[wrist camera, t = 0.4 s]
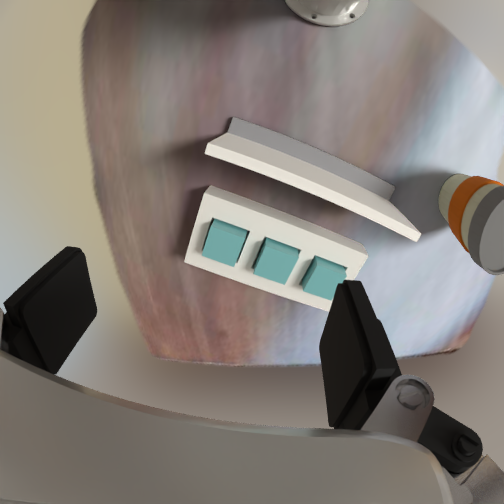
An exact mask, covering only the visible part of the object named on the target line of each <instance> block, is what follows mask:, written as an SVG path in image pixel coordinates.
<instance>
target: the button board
mask: <svg viewBox="0 0 504 504" xmlns="http://www.w3.org/2000/svg"><path fill="white" fill-rule="evenodd" d="M215 218H216V219H218V220H221V221H224V222H227V223H230V224H232V225H235V226H238V227H241V228H243V229H246V230H247V233H246V237H245V240H244V243H243V245H242V248H241V251H240V253H239V256H238V258H237V261H236V263H235V266H234V267H232V266H229V265H226V264H223V263H221V262H218V261H215V260H212V259H209V258H207V257H204V256H202V252H203V249H204V246H205V243H206V240H207V237H208V234H209V230H210V227H211V225H212V223H213V221H214V219H215ZM266 237H268V238H271V239H273V240H276V241H279V242H281V243H284V244H287V245H290V246H292V247H295V248H298V256H299V258H298V260H297V262H296V264H295V266H294V268H293V270H292V272H291V274H290V276H289V278H288V280H287V282H286V284H285V285H283V284H280V283H277V282H275V281H272V280H269V279H266V278H263V277H260V276H257V275H254V274H253V272H254V265H255V261H256V259H257V256H258V254H259V252H260V250H261V247H262V245H263V243H264V240H265V238H266ZM315 255H316V256H319V257H321V258H324V259H327V260H329V261H332V262H335V263H337V264H340V265H342V266H344V269H345V272H346V275H347V277H346V278H345V280H354V279H355V277H356V276H357V274H358V272H359V271H360V269H361V268H362V266H363V264H364V263H365V261H366V259H367V258H368V254H367V252H366V250H365V248H364V246H363V244H361V243H359V242H356V241H354V240H352V239H349V238H347V237H345V236H342V235H340V234H337V233H335V232H333V231H330V230H328V229H325V228H323V227H320V226H318V225H315V224H313V223H310V222H308V221H305V220H303V219H300V218H298V217H295V216H293V215H290V214H288V213H285V212H282V211H280V210H277V209H275V208H272V207H269V206H267V205H264V204H261V203H259V202H256V201H253V200H250V199H248V198H245V197H242V196H240V195H237V194H234V193H231V192H228V191H226V190H223V189H220V188H217V187H214V186H211V185H210V186H209V188H208V189H207V190H206V191H205V193H204V195H203V198H202V202H201V205H200V208H199V212H198V215H197V218H196V222H195V225H194V228H193V232H192V235H191V239H190V242H189V246H188V250H187V253H186V257H185V260H184V262H185V263H188V264H191V265H193V266H196V267H199V268H202V269H205V270H207V271H210V272H213V273H216V274H218V275H221V276H224V277H227V278H230V279H233V280H236V281H238V282H241V283H244V284H247V285H250V286H253V287H256V288H259V289H262V290H265V291H267V292H270V293H273V294H276V295H279V296H282V297H285V298H288V299H291V300H294V301H297V302H300V303H304V304H307V305H310V306H313V307H316V308H319V309H322V310H325V311H328V312H329V311H330V308H331V304H332V301H333V299H332V300H331V301H330V300H327V299H325V298H322V297H319V296H316V295H313V294H310V293H307V292H304V291H303V288H302V278H303V276H304V274H305V272H306V271H307V269H308V267H309V265H310V263H311V261H312V259H313V258H314V256H315ZM333 298H334V297H333Z"/></svg>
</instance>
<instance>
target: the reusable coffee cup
mask: <svg viewBox="0 0 504 504" xmlns="http://www.w3.org/2000/svg"><path fill="white" fill-rule="evenodd" d="M438 204H439V209H440V212H441V214H442V216H443V217H444V218H445V220H446V221H447V222H448V223H449V226H450V229H451V231H452V232H453V234H454V235H455V236H456V238H457V239H458V241H459V242H460V243H461V245H462V246H463V247H464V249H465V250H466V251H467V252H468V253H470V255H471V258H472V259H473V261H474V262H475V263H476V264H478V265H479V266H480V267H481V268H483V269H484V270H485V271H486V272H488V273H489V274H492V275H500V274H503V273H504V185H503V184H501V183H500V182H497V181H494V180H490V179H487V178H484V177H480V176H473V177H471V176H468V175H464V174H456V175H453V176H451V177H450V178H449V179H447V180H446V182H445V183H444V184H443V186H442V188H441V191H440V194H439V201H438Z"/></svg>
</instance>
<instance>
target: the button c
mask: <svg viewBox="0 0 504 504" xmlns="http://www.w3.org/2000/svg"><path fill="white" fill-rule="evenodd" d="M346 277H347V275H346V272H345V269H344V266H342V265H340V264H337V263H335V262H332V261H329V260H327V259H324V258H321V257H319V256H316V255H315V256H314V258H313V259H312V261H311V263H310V265H309V267H308V269H307V271H306V272H305V274H304V276H303V278H302V288H303V291H304V292H307V293H310V294H313V295H316V296H319V297H322V298H325V299H327V300H330V301H331V300H332V299H333V297H334V294H335V291H336V287H337V285H338V283H343V281H344V280H345V278H346Z"/></svg>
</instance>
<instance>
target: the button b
mask: <svg viewBox="0 0 504 504" xmlns="http://www.w3.org/2000/svg"><path fill="white" fill-rule="evenodd" d="M298 258H299V256H298V248H295V247H292V246H290V245H287V244H284V243H281V242H279V241H276V240H273V239H271V238H268V237H266V238H265V240H264V243H263V245H262V247H261V250H260V252H259V254H258V256H257V259H256V261H255V265H254V272H253V274H254V275H257V276H260V277H263V278H266V279H269V280H272V281H275V282H277V283H280V284H283V285H285V284H286V282H287V280H288V278H289V276H290V274H291V272H292V270H293V268H294V266H295V264H296V262H297V260H298Z"/></svg>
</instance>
